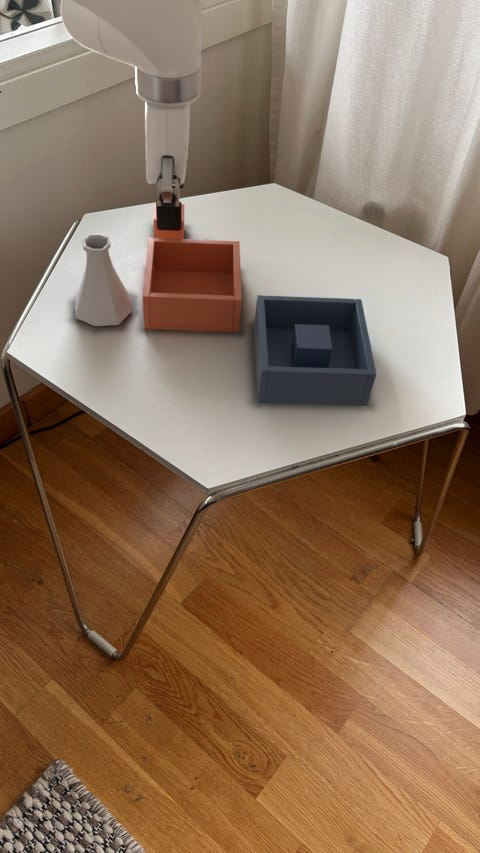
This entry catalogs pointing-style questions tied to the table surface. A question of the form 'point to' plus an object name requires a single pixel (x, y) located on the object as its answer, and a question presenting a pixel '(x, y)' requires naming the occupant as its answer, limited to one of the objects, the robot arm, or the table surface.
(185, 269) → the terracotta bin
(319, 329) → the slate block
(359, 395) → the slate bin
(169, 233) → the terracotta block
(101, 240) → the flask
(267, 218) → the table surface
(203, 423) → the table surface
